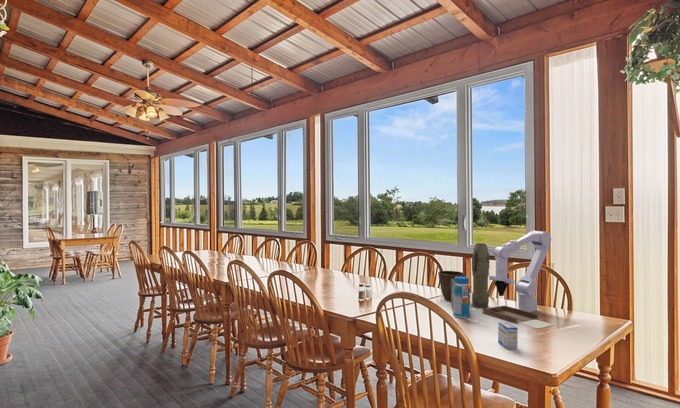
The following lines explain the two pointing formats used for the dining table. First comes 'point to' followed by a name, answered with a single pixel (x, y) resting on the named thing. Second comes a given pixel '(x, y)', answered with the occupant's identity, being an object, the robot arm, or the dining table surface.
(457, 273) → the plant pot
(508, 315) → the case
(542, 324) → the cover plate
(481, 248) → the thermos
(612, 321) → the dining table surface
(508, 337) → the medicine box
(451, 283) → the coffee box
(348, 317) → the dining table surface
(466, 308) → the beverage bottle
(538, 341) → the dining table surface
